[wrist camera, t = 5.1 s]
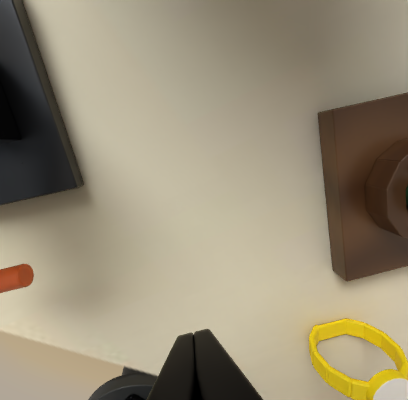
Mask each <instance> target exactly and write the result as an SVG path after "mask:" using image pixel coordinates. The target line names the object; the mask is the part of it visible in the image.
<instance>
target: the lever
mask: <svg viewBox="0 0 408 400" xmlns="http://www.w3.org/2000/svg"><path fill="white" fill-rule="evenodd" d="M33 277H34V274H33V270H32V268H31V266H30V265H28V264H21V265H17V266H13V267H9V268H4V269H0V293H3V292H7V291H11V290H15V289H19V288H23V287H27V286H29V285H30V284H31V283H32V281H33Z"/></svg>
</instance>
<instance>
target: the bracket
mask: <svg viewBox="0 0 408 400" xmlns="http://www.w3.org/2000/svg"><path fill="white" fill-rule="evenodd" d="M82 185H84V183H83V180H82V177H81V174H80V171H79V168H78V165H77V162H76V159H75V156H74V153H73V150H72V147H71V144H70V141H69V138H68V135H67V132H66V129H65V126H64V124H63V121H62V118H61V115H60V112H59V109H58V106H57V103H56V100H55V97H54V94H53V91H52V88H51V85H50V82H49V79H48V76H47V73H46V70H45V67H44V64H43V62H42V59H41V56H40V53H39V50H38V47H37V44H36V41H35V38H34V35H33V32H32V29H31V26H30V23H29V20H28V17H27V14H26V11H25V8H24V5H23V2H22V0H0V205H3V204H8V203H12V202H17V201H21V200H26V199H30V198H34V197H39V196H43V195H48V194H52V193H57V192H61V191H65V190H70V189H74V188H78V187H80V186H82Z"/></svg>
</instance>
